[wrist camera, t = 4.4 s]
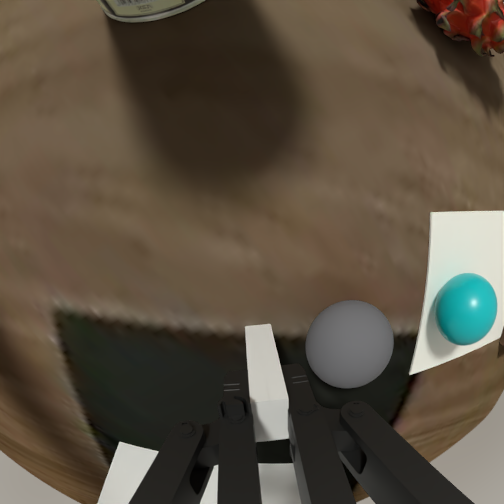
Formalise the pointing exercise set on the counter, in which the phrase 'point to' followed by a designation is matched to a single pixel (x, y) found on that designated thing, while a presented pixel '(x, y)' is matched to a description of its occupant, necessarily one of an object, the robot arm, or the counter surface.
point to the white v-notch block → (271, 482)
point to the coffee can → (145, 9)
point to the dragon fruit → (471, 22)
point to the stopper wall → (502, 338)
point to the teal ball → (465, 309)
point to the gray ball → (349, 344)
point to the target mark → (454, 263)
